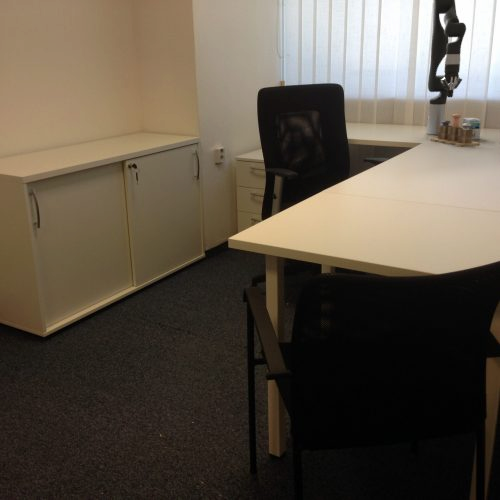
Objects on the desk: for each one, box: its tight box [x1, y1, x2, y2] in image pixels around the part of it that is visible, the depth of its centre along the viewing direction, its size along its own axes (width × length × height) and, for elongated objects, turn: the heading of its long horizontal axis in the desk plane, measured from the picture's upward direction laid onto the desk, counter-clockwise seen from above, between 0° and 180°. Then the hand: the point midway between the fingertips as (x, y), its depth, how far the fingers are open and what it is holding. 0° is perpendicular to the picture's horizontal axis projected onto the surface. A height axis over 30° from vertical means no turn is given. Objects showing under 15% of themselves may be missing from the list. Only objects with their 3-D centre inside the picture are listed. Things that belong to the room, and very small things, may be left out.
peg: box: [442, 119, 451, 126], centre depth 319 cm, size 4×4×9 cm
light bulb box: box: [462, 117, 482, 141], centre depth 324 cm, size 11×7×11 cm, turn 179°
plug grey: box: [461, 123, 471, 130], centre depth 304 cm, size 4×4×9 cm
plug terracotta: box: [451, 113, 462, 128], centre depth 310 cm, size 4×4×9 cm
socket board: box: [429, 125, 481, 148], centre depth 312 cm, size 25×12×8 cm, turn 21°
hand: (449, 97), depth 311 cm, fingers closed
